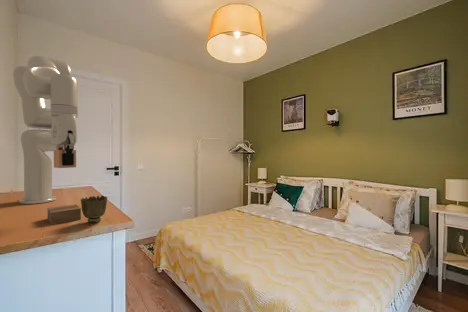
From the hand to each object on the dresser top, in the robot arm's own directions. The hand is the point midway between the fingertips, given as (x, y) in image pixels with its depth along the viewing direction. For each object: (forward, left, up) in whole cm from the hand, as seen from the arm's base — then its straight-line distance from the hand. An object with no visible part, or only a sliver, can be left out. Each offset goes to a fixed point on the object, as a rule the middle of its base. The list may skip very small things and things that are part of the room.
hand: (64, 164), depth 81 cm
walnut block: (+2, -1, -19) cm, 19 cm away
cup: (+13, +4, -18) cm, 23 cm away
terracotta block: (0, 0, -1) cm, 1 cm away
